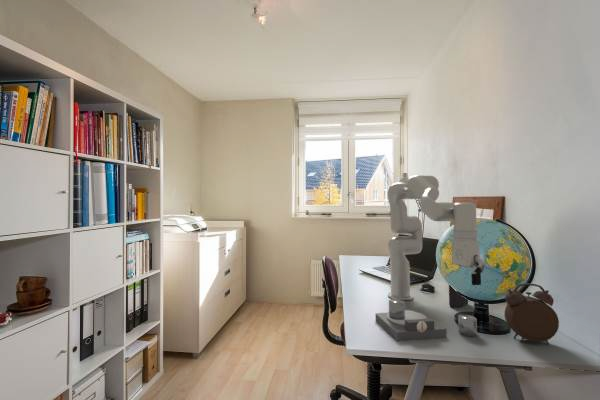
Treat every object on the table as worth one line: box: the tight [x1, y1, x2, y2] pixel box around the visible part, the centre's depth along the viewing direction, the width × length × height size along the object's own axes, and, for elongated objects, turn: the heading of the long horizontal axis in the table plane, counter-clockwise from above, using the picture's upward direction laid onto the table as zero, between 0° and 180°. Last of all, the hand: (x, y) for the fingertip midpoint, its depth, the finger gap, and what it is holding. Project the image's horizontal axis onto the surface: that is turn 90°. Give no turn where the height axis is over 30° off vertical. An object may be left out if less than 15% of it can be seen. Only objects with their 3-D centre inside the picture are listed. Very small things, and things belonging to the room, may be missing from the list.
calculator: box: [448, 284, 469, 309], centre depth 140 cm, size 11×4×15 cm, turn 123°
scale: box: [375, 309, 448, 342], centre depth 114 cm, size 19×19×6 cm
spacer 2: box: [457, 314, 478, 338], centre depth 109 cm, size 6×6×6 cm
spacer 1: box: [388, 298, 406, 320], centre depth 115 cm, size 6×6×6 cm
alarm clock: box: [504, 282, 560, 345], centre depth 102 cm, size 15×7×20 cm, turn 78°
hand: (466, 281), depth 109 cm, fingers open, 9 cm apart
